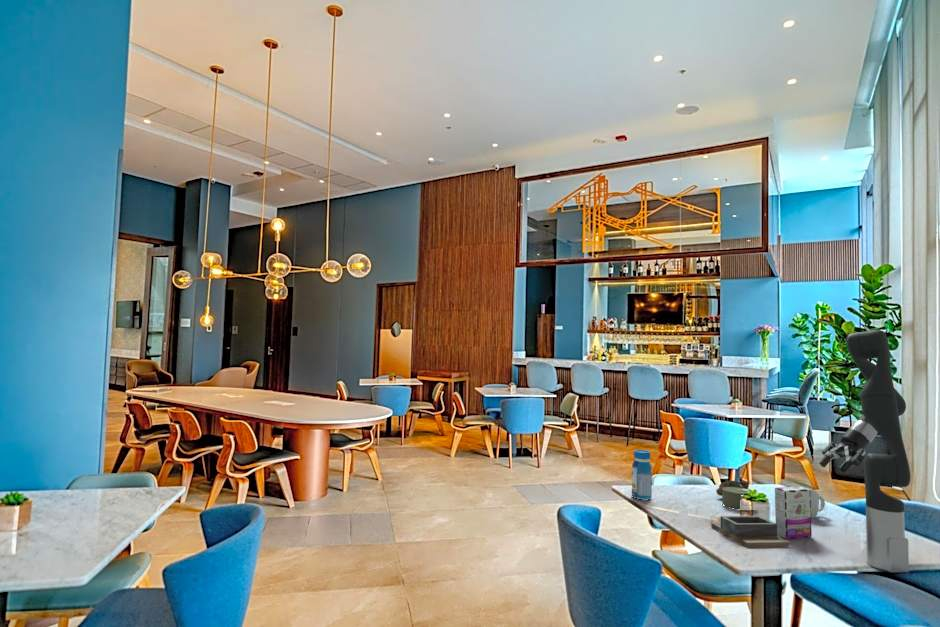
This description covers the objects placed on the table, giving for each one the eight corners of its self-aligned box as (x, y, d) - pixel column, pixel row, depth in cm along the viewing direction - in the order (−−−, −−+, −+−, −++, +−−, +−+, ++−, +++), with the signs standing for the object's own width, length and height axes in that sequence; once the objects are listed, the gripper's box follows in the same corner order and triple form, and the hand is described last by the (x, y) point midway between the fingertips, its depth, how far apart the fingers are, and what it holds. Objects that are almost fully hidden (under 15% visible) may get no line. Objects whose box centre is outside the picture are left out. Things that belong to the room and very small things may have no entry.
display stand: (789, 546, 175) (789, 529, 175) (747, 547, 173) (747, 530, 173) (749, 526, 195) (749, 511, 195) (711, 527, 193) (711, 511, 193)
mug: (804, 520, 206) (804, 493, 206) (787, 512, 215) (786, 487, 215) (833, 519, 208) (832, 493, 209) (814, 512, 217) (814, 487, 217)
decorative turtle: (756, 500, 232) (755, 482, 232) (726, 504, 228) (726, 486, 228) (739, 493, 241) (738, 476, 241) (711, 497, 237) (710, 479, 237)
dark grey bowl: (715, 503, 225) (715, 487, 225) (737, 502, 229) (737, 485, 230) (738, 512, 214) (738, 494, 214) (761, 510, 218) (760, 492, 218)
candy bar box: (799, 532, 190) (799, 485, 191) (812, 537, 185) (811, 489, 186) (774, 534, 187) (774, 486, 188) (786, 539, 182) (785, 490, 183)
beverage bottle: (645, 502, 223) (646, 453, 225) (627, 497, 230) (628, 450, 231) (655, 498, 229) (656, 451, 230) (637, 494, 235) (638, 448, 237)
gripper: (836, 425, 199) (808, 456, 197) (869, 431, 185) (840, 465, 183) (849, 439, 199) (821, 471, 197) (883, 447, 185) (854, 480, 183)
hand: (831, 468), depth 190 cm, fingers open, 8 cm apart
